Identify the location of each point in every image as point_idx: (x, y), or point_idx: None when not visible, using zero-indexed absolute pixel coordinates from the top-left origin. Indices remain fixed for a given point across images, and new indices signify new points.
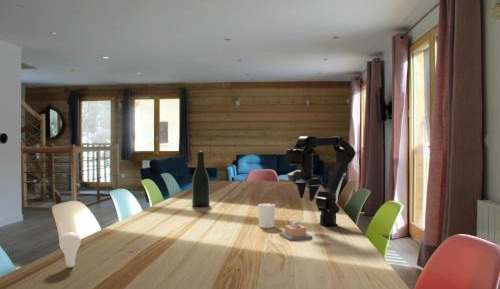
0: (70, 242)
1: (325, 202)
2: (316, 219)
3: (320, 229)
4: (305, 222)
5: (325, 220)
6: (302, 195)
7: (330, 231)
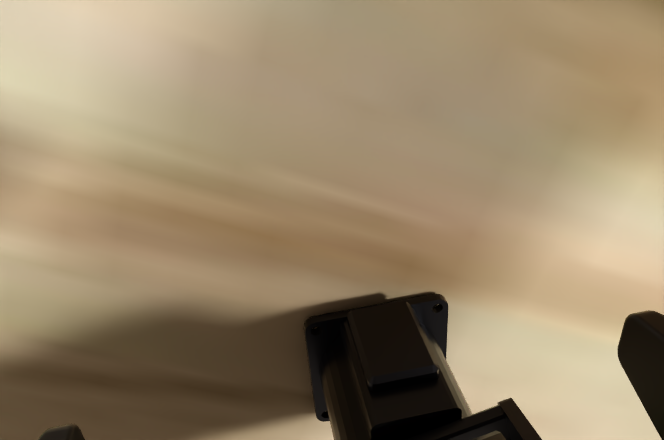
0: None
1: None
2: None
3: (205, 241)
4: (575, 192)
5: (350, 363)
6: (658, 402)
7: (93, 305)
